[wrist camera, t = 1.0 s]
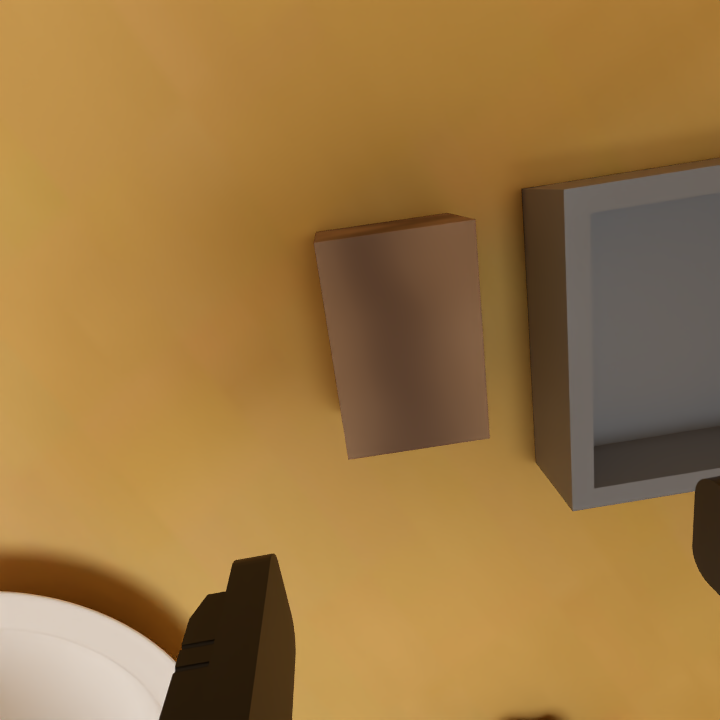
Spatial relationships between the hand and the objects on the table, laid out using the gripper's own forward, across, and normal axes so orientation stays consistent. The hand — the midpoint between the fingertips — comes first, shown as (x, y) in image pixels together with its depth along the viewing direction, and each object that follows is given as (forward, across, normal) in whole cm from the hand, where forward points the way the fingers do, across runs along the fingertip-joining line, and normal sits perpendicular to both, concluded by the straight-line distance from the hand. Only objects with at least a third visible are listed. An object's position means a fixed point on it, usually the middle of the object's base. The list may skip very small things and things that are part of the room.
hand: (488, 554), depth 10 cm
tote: (+16, -13, +2) cm, 21 cm away
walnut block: (+17, 0, 0) cm, 17 cm away
